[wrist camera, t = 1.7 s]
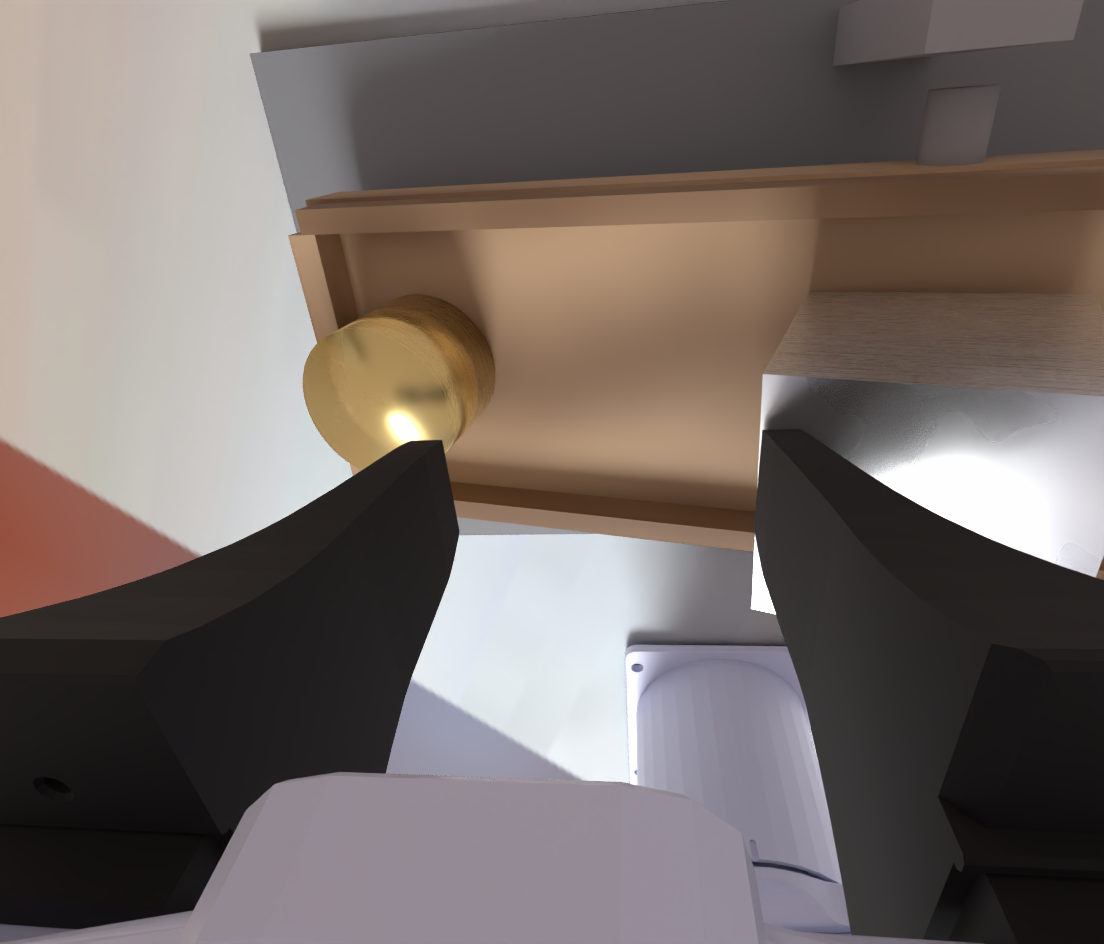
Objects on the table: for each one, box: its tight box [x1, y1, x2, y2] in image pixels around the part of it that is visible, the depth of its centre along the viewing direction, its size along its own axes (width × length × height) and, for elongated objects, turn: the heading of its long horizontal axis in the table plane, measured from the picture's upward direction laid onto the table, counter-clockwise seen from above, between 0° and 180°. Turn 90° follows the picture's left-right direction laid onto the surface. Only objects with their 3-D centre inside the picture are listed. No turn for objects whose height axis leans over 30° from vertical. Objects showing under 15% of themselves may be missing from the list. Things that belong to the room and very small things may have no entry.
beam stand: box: [250, 0, 1104, 535], centre depth 17 cm, size 16×33×6 cm, turn 95°
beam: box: [288, 84, 1104, 580], centre depth 15 cm, size 12×30×2 cm, turn 95°
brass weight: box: [303, 294, 496, 470], centre depth 17 cm, size 4×4×3 cm
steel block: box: [751, 291, 1104, 614], centre depth 13 cm, size 5×5×5 cm
